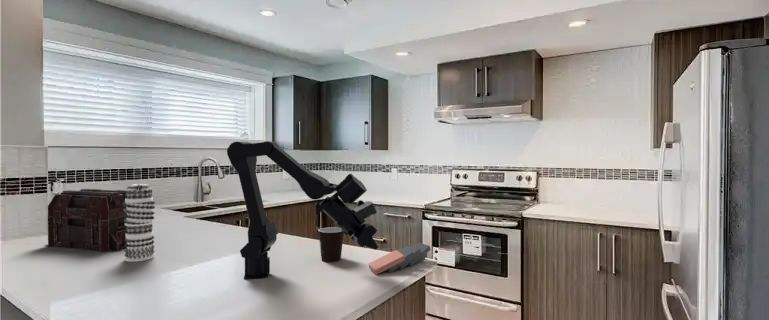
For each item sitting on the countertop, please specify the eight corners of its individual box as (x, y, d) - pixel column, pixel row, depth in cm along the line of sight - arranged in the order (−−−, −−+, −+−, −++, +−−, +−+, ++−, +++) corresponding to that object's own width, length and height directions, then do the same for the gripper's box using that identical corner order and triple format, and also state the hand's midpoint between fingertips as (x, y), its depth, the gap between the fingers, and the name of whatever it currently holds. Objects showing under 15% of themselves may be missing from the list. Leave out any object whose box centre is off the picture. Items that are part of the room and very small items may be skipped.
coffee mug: (339, 263, 124) (339, 233, 124) (314, 262, 126) (314, 231, 125) (349, 254, 135) (349, 226, 135) (326, 253, 137) (326, 225, 137)
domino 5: (413, 260, 125) (427, 253, 133) (400, 258, 127) (414, 251, 136) (413, 265, 125) (427, 257, 133) (400, 262, 127) (414, 255, 136)
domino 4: (410, 262, 121) (429, 245, 127) (398, 258, 125) (418, 242, 131) (411, 266, 122) (430, 250, 128) (399, 262, 125) (419, 246, 131)
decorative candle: (137, 263, 124) (136, 186, 124) (116, 260, 127) (115, 185, 127) (161, 255, 133) (161, 183, 132) (142, 253, 136) (141, 182, 135)
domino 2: (389, 268, 115) (413, 251, 120) (379, 263, 119) (402, 247, 124) (390, 272, 115) (414, 256, 120) (380, 268, 119) (404, 252, 124)
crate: (39, 246, 146) (38, 191, 145) (89, 236, 164) (89, 187, 163) (110, 253, 136) (109, 194, 136) (155, 241, 154) (154, 189, 154)
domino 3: (400, 265, 118) (419, 248, 124) (388, 262, 121) (408, 245, 128) (401, 269, 118) (421, 252, 124) (389, 266, 122) (409, 249, 128)
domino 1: (374, 270, 113) (403, 255, 116) (368, 263, 117) (396, 249, 121) (376, 274, 113) (405, 260, 117) (369, 268, 118) (397, 254, 121)
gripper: (369, 196, 103) (407, 234, 107) (351, 189, 121) (383, 222, 125) (341, 227, 101) (380, 265, 105) (326, 216, 118) (360, 248, 122)
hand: (376, 248), depth 114 cm, fingers closed
